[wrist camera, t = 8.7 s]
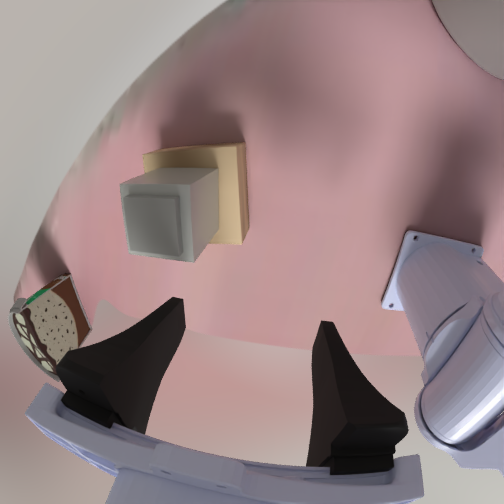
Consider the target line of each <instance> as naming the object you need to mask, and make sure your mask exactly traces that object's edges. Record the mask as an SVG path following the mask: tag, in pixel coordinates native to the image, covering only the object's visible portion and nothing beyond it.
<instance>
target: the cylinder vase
mask: <svg viewBox="0 0 504 504" xmlns="http://www.w3.org/2000/svg"><path fill="white" fill-rule="evenodd" d="M432 2H433V5H434V7H435V9H436V12H437V14H438V16H439V18H440V19H441V21H442V23H443V25H444V26H445V28H446V29H447V31H448V32H449V34H450V35H451V37H452V38H453V39H454V41H455V42H456V43H457V44H458V46H459V47H460V48H461V49H462V50H463V51H464V52H465V53H466V55H467V56H468V57H469V58H470V59H471V60H473V61H474V62H475V63H476V64H477V65H478V66H479V67H481V68H482V69H483V70H485V71H486V72H488V73H489V74H491V75H493V76H494V77H496V78H499V79H501V80H504V0H432Z"/></svg>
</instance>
